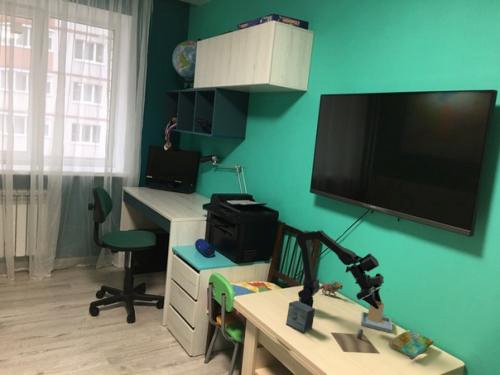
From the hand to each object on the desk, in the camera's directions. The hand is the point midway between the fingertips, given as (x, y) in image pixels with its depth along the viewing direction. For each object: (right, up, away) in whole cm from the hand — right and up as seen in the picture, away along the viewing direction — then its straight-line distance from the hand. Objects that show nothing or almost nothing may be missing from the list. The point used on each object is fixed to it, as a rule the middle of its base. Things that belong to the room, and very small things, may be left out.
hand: (379, 307), depth 186 cm
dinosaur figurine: (-15, -6, +45) cm, 47 cm away
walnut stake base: (-14, -13, -10) cm, 22 cm away
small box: (-37, -9, -1) cm, 38 cm away
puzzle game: (+11, -17, -7) cm, 21 cm away
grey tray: (+2, -12, +13) cm, 18 cm away
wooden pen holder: (-2, -6, +2) cm, 7 cm away
